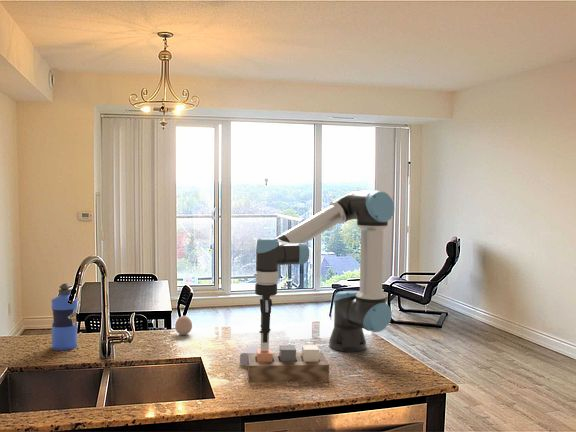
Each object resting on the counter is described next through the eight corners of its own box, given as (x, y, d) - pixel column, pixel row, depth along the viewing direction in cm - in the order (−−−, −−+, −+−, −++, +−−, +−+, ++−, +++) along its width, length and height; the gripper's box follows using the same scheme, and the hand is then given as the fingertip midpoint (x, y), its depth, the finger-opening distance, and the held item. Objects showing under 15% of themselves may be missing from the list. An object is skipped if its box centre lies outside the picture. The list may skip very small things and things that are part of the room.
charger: (273, 354, 201) (264, 367, 186) (250, 352, 203) (239, 365, 188) (273, 342, 201) (264, 354, 186) (250, 340, 203) (240, 352, 188)
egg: (184, 338, 219) (184, 318, 219) (171, 335, 223) (171, 316, 222) (195, 334, 225) (195, 315, 225) (182, 331, 229) (183, 313, 228)
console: (322, 367, 188) (322, 352, 187) (328, 380, 175) (329, 364, 175) (247, 368, 185) (247, 353, 184) (248, 381, 172) (249, 365, 172)
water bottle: (80, 343, 208) (81, 282, 207) (71, 350, 199) (72, 286, 197) (57, 343, 208) (57, 281, 206) (47, 350, 198) (47, 285, 197)
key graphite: (293, 361, 182) (294, 345, 182) (295, 367, 177) (296, 349, 177) (279, 362, 182) (279, 345, 182) (280, 367, 177) (281, 349, 176)
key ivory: (316, 361, 183) (316, 345, 183) (318, 366, 178) (319, 349, 178) (301, 361, 183) (302, 345, 182) (303, 366, 178) (304, 349, 177)
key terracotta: (271, 365, 182) (271, 348, 181) (272, 370, 177) (272, 353, 176) (256, 365, 181) (256, 348, 181) (257, 371, 176) (257, 353, 176)
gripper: (254, 279, 183) (252, 345, 185) (256, 286, 170) (254, 356, 172) (275, 279, 184) (273, 344, 185) (278, 286, 171) (276, 356, 172)
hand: (264, 350), depth 178 cm, fingers closed
